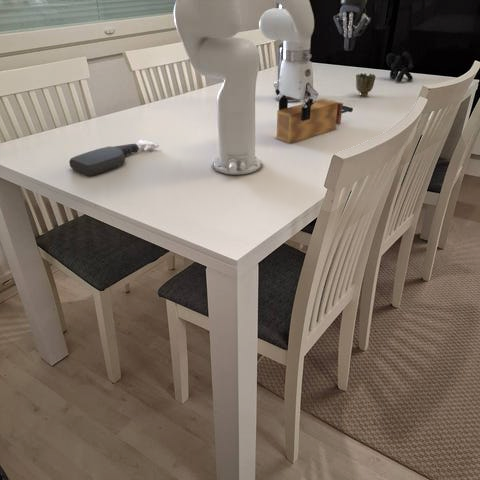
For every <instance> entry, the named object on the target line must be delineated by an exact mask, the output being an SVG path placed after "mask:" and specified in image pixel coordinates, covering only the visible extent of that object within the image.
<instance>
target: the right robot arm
mask: <svg viewBox="0 0 480 480" xmlns="http://www.w3.org/2000/svg"><path fill="white" fill-rule="evenodd" d="M367 2H368V0H340V5H341V7H340V10H339V13H338V14H336V15H333V21H334V23H335V25H336V27H337V30H338V32H339V34H340V35H342V36H343V37H344V42H343V49H344V51H346V52H347V51H348V52H352V51H353V50H354V48H355V42H356V37H358V36H361V35H362V34H363V32H364V31H365V30H366V29H367V28H368V26H369V25H370V23H371V22H372V17H370V16H369V17H368V15H367V14H366V13H367V10H366V4H367ZM275 3H276V4H275V8H282V9H285V8H284V7H283V6H281V5H280V4H279V3H277V2H275ZM277 47H278V49H277V52H278V53H277V81H279V79H280V69H281V63H282V60H283V42H281V43H279V45H278V46H277ZM277 97H278V96H277V95H276V100H277V101H279V100H278V99H277ZM286 98H287V99H288V103H294V102H299V101H300V100H299V99H295V98H291V97H288V96H287V97H286Z"/></svg>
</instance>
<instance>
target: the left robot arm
mask: <svg viewBox="0 0 480 480" xmlns="http://www.w3.org/2000/svg"><path fill="white" fill-rule="evenodd" d="M273 1H274V2H275V3H279V4H280V5H281V6H283V7H284V8H285V9H282V8H276V7H273V8H270V9H267V10H266V11H264V12H263V13H262V15H261V16H260V18H259V22H258V27H259V31H260V33H261V35H262V36H263V37H264V38H265V39H268V40H271V41H281V42H282V43H283V60H282V63H281V69H280V79H279V81H278V80H277V81H275V82H274V83H273V87H274V90H275V95H276V100H277V99H278V100H277V101H278V110H281V109H285V108H289V107H288V106H289V105H288V103H289V102H288V99H287V98H286V97H287V96H288V97H291V98H295V99H299V101H300V102H301V104H303V106H304V107H302V110H301V120H302V121H305V120H308V119H310V112H311V106H312V105H313V103H314V102H315V101H317V98H318V97H319V92H318V91H317V90H316V89H315V88H314V70H313V63H312V61H310V60H311V58H312V53H311V43H312V41H311V40H312V36H313V33H314V30H315V18H314V17H315V16H314V12H313V9H312V5H311V2H310V0H273ZM173 20H174V25H175V27H176V31H177V34H178V36H179V38H180V41H181V43H182V46H183V48H184V51H185V53H186V56H187V58H188V61H189V62H190V64H191V67H192V68H193V70H194V71H195V72H196V73H197V74H198V75H201V76H204V77H208V78H213V79H219V80H222V81H223V82H222V85H221V87H220V89H219V91H218V93H217V97H216V110H217V111H216V112H217V133H218V135H217V136H218V137H217V138H218V157H216V158H215V159H214V160H213V167H214V169H215V170H216V171H217V172H219V173H222V174H226V175H233V176H234V175H238V176H239V175H247V174H252V173H254V172H256V171H258V170H259V169H260V168H261V166H262V161H261V159H260V158H259V157H258V156H256V90H257V89H256V88H257V80H258V74H259V69H260V59H261V58H260V52H259V49H258V46H256V44H255V43H254V42H252V41H251V40H249V39H246V38H244V37H237V36H236V35H237V34H238V33H239V31H240V30H241V27H242V14H241V9H240V5H239V1H238V0H175V3H174V7H173ZM277 96H278V97H277Z"/></svg>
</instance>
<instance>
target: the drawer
mask: <svg viewBox="0 0 480 480" xmlns="http://www.w3.org/2000/svg"><path fill="white" fill-rule="evenodd" d="M333 101H334V102H336V101H335V100H333ZM337 102H338V106H337V117H336V125H338V126H339V125H341V124H342V114H345V113H352V112H353V111H354V110H353V109H354V108H353V107H351V106H347V105H343V102H339V101H337Z"/></svg>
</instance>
